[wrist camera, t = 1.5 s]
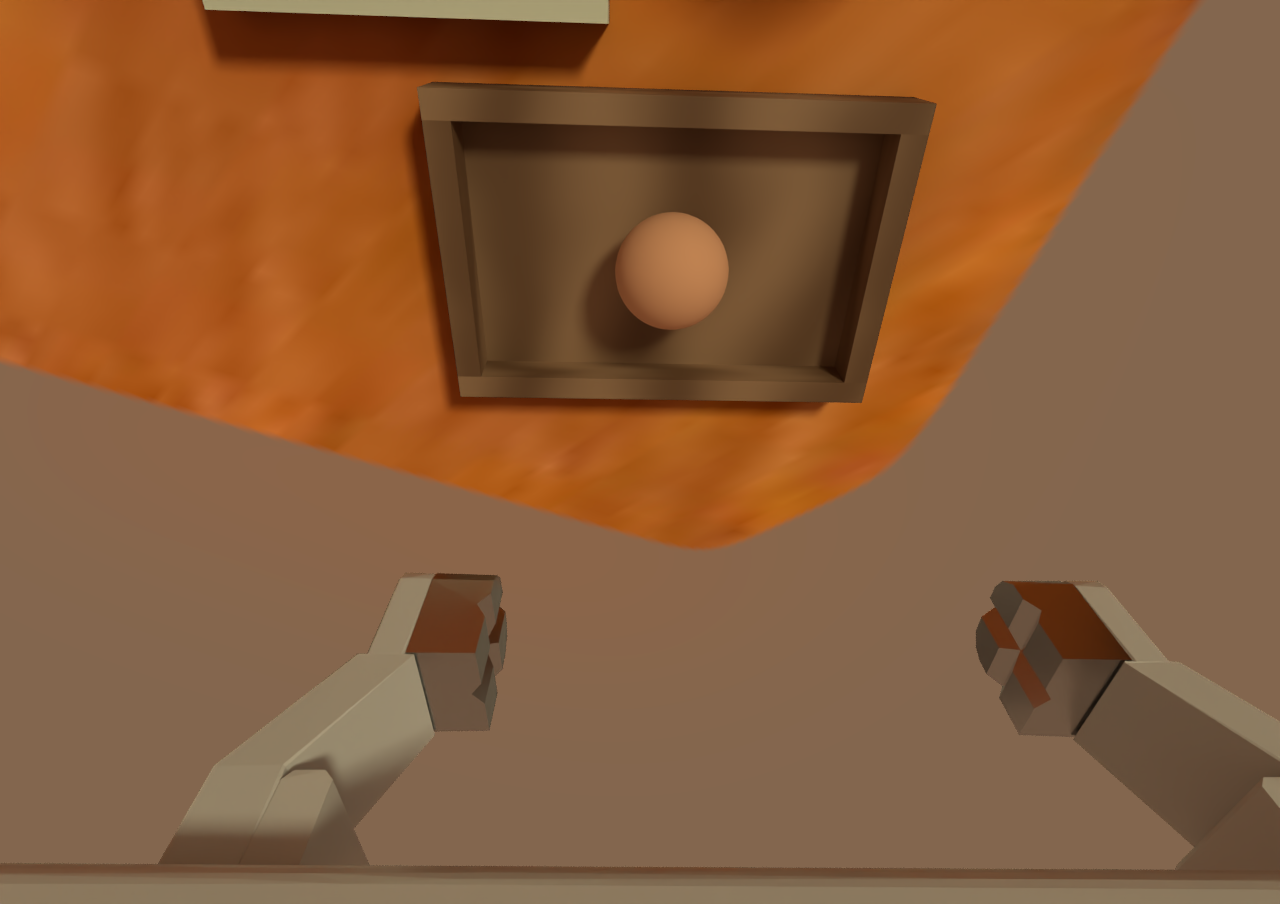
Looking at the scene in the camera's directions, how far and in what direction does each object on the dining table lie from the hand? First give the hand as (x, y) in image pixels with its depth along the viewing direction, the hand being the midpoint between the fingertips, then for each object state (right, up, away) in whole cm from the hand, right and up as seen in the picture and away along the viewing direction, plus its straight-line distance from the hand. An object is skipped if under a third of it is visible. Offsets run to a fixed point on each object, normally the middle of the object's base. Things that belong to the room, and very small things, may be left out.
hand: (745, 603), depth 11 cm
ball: (0, +10, +15) cm, 17 cm away
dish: (-1, +11, +17) cm, 20 cm away
